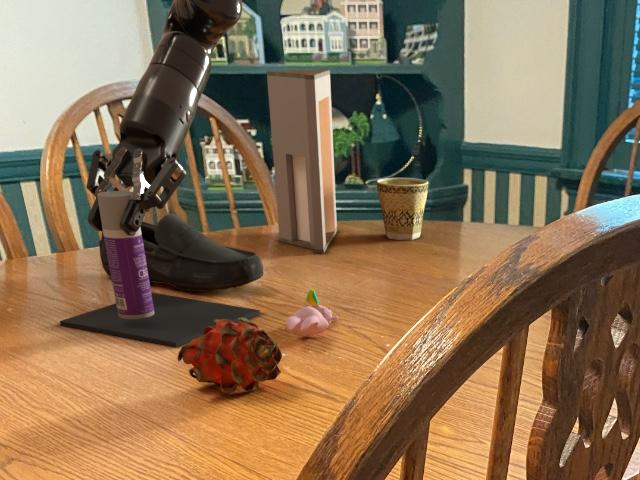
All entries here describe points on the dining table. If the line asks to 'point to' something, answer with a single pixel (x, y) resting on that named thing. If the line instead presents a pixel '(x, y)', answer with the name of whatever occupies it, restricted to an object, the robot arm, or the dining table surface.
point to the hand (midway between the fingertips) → (110, 229)
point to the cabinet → (303, 156)
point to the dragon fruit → (233, 355)
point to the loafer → (191, 258)
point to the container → (125, 258)
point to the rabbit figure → (311, 317)
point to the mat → (161, 320)
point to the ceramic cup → (402, 206)
